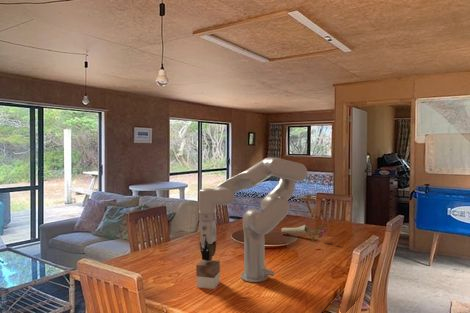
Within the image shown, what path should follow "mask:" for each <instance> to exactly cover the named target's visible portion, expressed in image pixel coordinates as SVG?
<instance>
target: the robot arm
mask: <svg viewBox="0 0 470 313" xmlns="http://www.w3.org/2000/svg"><path fill="white" fill-rule="evenodd" d="M307 175H308V169H307V167H306V166H305V165H304V164H303V163H300V162H296V161H292V160H288V159H284V158H280V157H265V158H264V159H261V161H259V162H257V163H255V164H254V165H253V166H251V167H249V168H247V169H246V170H244V171H242V172H240V173H238V174H236V175H234V176H232V177H230V178H228V179H226V180H225V181H223V182H221V183H220V184H218V185H216V186H215V187H214V188H209V187H208V188H201V189H200V190H199V191H198V220H199V222H200V229H199V230H200V232H199V233H200V234H199V240H200V242H201V246H202V254H201V260H209V251H208V250H209V244H212V243H213V242H215V241H216V240H217V226H216V225H217V223H216V221H217V205H218V206H229V205H231V204H232V203H234V201H235V200H236V199H235V198H236V197H235V194H236V193H238V192H241V191H243V190H249V189H253V188H255V187H256V186H258V185H260V184H261V183H263V182H265V180H267V179H269V178H271V177H277V178H279V181H278V184H277V185H275V187H274V188H272V190H271V191H270V192H268V194H266V196H264V198H262V199H261V201H260V208H261V210H262V211H261V210H258V209H255V208H251V209H249V210H248V209H247V211H245V213H244V214H243V216H242V229H243V238H244V240H243V241H244V244H243V252H244V253H243V254H244V255H243V259H244V260H243V262H244V263H243V268H244V270H243V272H241V274H240V278H241V279H242V280H243V281H246V282H250V283H262V282H265V281H267V280H268V278H269V276H270V277H271V276H272V277H275V271H273V269H268V268H267V266H265V265H266V263H265V260H266V259H265V258H266V257H265V254H266V253H265V249H266V248H265V245H266V243H265V242H266V240H265V238H266V237H265V235H266V234H269V233H270V232H271V231H272V230H273V229H274V228H275V227H276V226H278V225H279V223H281V222H282V221H283V220H284V219H285V218H286V217H287V215H288V213H289V210H290V204H289V201H288V200H289V199H291V197H292V196H293V195H294V193H295V189H296V182H298V183H300V182H302V181H305V179H306V178H307ZM200 242H199V243H200ZM205 242H207V243H205ZM205 245H207V247H206V246H205Z"/></svg>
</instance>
